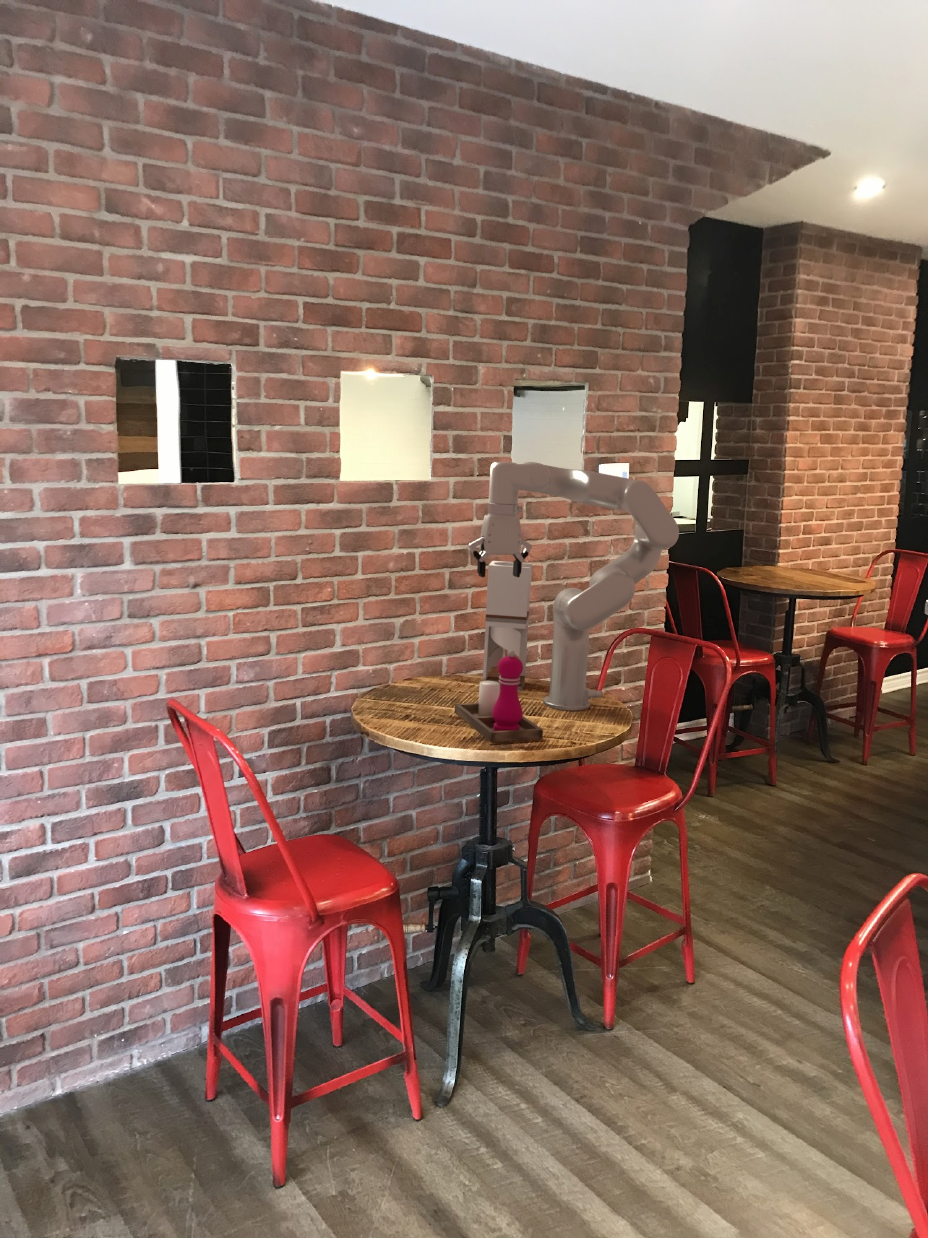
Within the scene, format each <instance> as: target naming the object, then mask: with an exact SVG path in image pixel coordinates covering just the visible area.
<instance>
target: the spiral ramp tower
mask: <svg viewBox="0 0 928 1238" xmlns="http://www.w3.org/2000/svg"><path fill="white" fill-rule="evenodd" d="M513 562H514V561H499V560H492V561H491V562H490V563H489V564H488V565H487V567H488V568H487V583H486V584H487V585H486V603H485V619H484V620H485V623H484V624H485V625H484V626H485V632H484V645H483V646H484V648H483V650H484V652H483V664H482V665H483V668H482V670H483V671H482V681H495V682H499V679H500V678H499V676H501V675H500V673H499V672H498V668H497V667H498V663H499V661H500V660H501V659H502V658H503V657H506V656H508V655H507V653H508V651H509V650H513V651H514V652H515V655H514V657H517V658H518V659H520V660H521V662H522V664H523V671H522V673H521V674H520V675H519V677H520V683H519V684H518V692H523V688H524V686H525V683H526V668H527V667H526V666H527V653H528V652H527V651H528V635H529V622H530V621H529V620H530V619H529V618H530V607H531V606H530V605H531V604H530V602H531V590H532V589H531V587H532V573H533V563H531V562H522V568H521V574H520V577H515V576H513ZM499 683H500V682H499ZM500 688H501V687H500Z"/></svg>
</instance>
